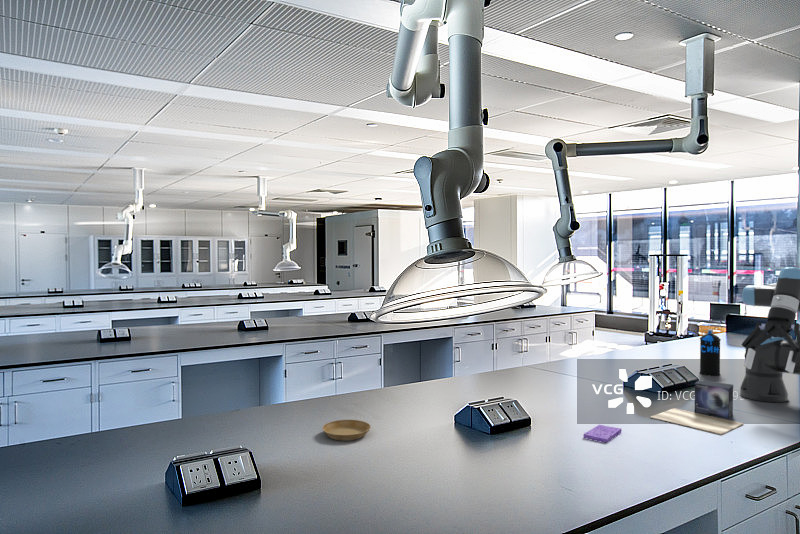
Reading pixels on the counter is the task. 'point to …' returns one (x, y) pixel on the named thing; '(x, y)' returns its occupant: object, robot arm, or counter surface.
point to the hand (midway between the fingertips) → (767, 369)
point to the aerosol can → (710, 354)
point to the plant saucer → (346, 429)
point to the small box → (714, 399)
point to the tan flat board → (698, 421)
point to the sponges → (602, 433)
